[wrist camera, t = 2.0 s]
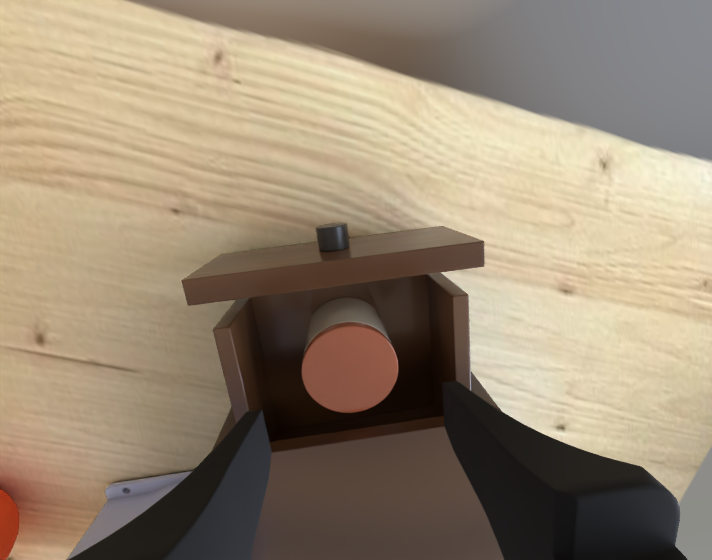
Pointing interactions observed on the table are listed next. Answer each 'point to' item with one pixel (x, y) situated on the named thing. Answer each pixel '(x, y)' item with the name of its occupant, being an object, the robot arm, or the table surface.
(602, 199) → the table surface
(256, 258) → the drawer
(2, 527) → the clementine
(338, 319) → the pot
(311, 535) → the cabinet
